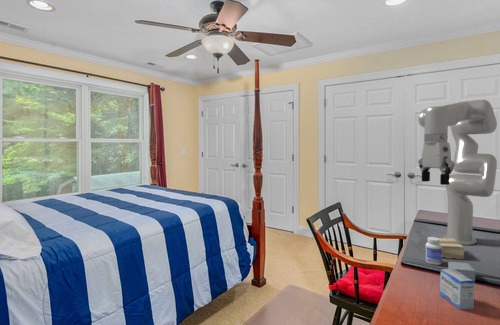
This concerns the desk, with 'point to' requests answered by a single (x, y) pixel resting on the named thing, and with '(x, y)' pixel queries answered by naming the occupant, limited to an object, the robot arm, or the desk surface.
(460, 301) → the medicine box
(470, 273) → the grey block
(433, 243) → the pill bottle
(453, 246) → the oak block
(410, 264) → the desk surface
